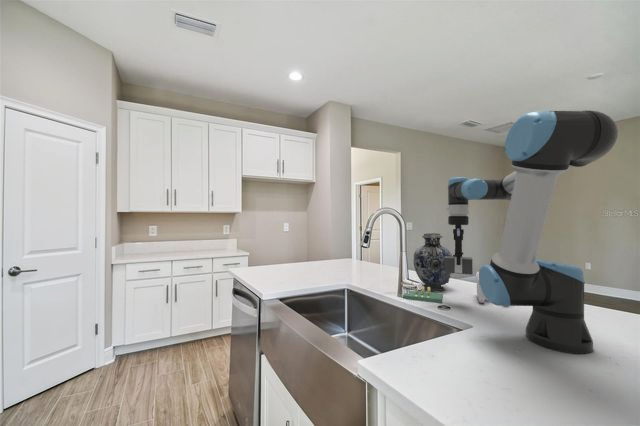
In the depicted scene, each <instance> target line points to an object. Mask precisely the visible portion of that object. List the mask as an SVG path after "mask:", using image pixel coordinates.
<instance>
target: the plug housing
mask: <svg viewBox="0 0 640 426" xmlns="http://www.w3.org/2000/svg"><path fill="white" fill-rule="evenodd" d="M473 272H474V271H473V258H472V257H471V256H469V257H468V256H462V273H455V257H453V255H452V256H445V273H451V274H456V275H457V274H459V275H473Z"/></svg>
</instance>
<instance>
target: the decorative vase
mask: <svg viewBox="0 0 640 426" xmlns="http://www.w3.org/2000/svg"><path fill="white" fill-rule="evenodd" d="M421 237H422V238H423V239H424V245H423V246H419V247H418V248H416V249H415V251H414V253H413V267H414V270H415V273H416V276H417V277H418V278H419V280H420V281H421V282H422V283H423V285H422V286H424V289H425V290H424V291H427V287H430V292H434V291H440V292H444V291H445V287H444V285H446V284H449V282H450V279H451V274H452V273H445V256H453V253H452V251H450V250H449V249H448V248H446V247H444V246H442V245H441V238H443V236H442V235H441V233H435V232H433V233H432V232H431V233H423V235H422V236H421ZM443 290H444V291H443Z"/></svg>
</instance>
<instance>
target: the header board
mask: <svg viewBox="0 0 640 426" xmlns="http://www.w3.org/2000/svg"><path fill="white" fill-rule="evenodd" d="M443 295H444V294H443V293H437V292H431V291H430V287H427V290H426V291H425V290H424V286H423V285H422V286H421V291H416V290H411V291H410V293H409V294H407V293H405V292H404V293H403V295H402V299H403V300H404V299H406V300H412V301H420V302H430V303H436V304H443V297H444V296H443Z"/></svg>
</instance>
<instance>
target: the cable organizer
mask: <svg viewBox="0 0 640 426" xmlns="http://www.w3.org/2000/svg"><path fill="white" fill-rule="evenodd" d="M475 278H476V296H477V299H478V303H480V304H483V303H485V301H486V300H487V299H486V297H485V296H484V294H483V292H482V290H481V287H480V283H479V271H477V272H476V273H475Z"/></svg>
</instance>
